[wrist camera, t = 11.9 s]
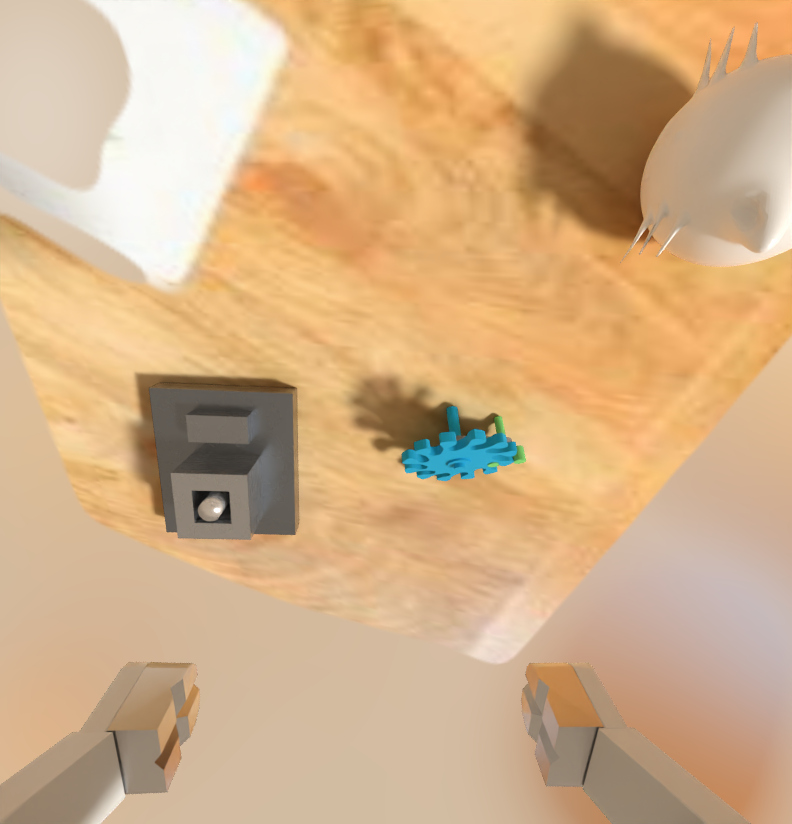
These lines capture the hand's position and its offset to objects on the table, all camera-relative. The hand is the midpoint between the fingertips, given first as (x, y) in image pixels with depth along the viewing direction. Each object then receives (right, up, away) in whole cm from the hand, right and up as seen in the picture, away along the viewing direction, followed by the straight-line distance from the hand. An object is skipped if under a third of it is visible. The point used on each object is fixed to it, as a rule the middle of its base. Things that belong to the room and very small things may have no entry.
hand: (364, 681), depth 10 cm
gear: (+7, +4, +30) cm, 31 cm away
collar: (-15, 0, +28) cm, 31 cm away
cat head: (+25, +25, +24) cm, 43 cm away
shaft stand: (-15, +2, +29) cm, 33 cm away
